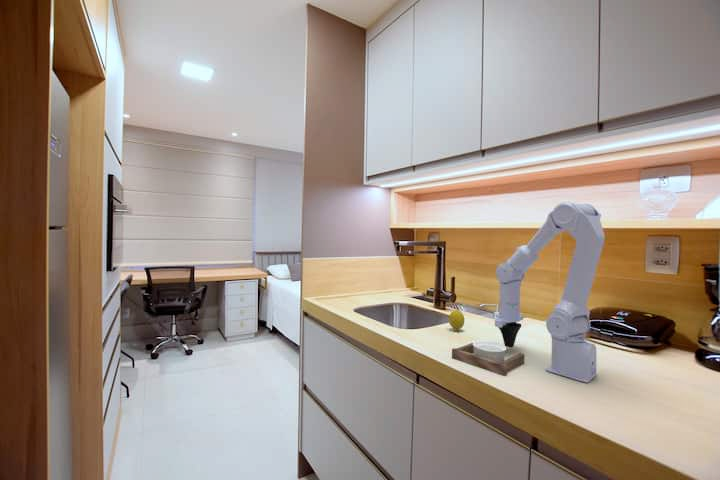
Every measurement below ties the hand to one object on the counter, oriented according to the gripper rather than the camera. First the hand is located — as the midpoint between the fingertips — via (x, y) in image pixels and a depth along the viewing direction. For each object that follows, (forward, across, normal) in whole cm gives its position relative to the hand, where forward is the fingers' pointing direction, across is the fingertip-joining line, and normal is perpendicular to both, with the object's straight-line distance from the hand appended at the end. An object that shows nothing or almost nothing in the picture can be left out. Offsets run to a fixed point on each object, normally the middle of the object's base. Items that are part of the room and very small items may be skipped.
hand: (509, 346), depth 99 cm
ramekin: (+2, +12, 0) cm, 12 cm away
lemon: (+2, -7, -23) cm, 24 cm away
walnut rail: (+1, +12, 0) cm, 12 cm away
